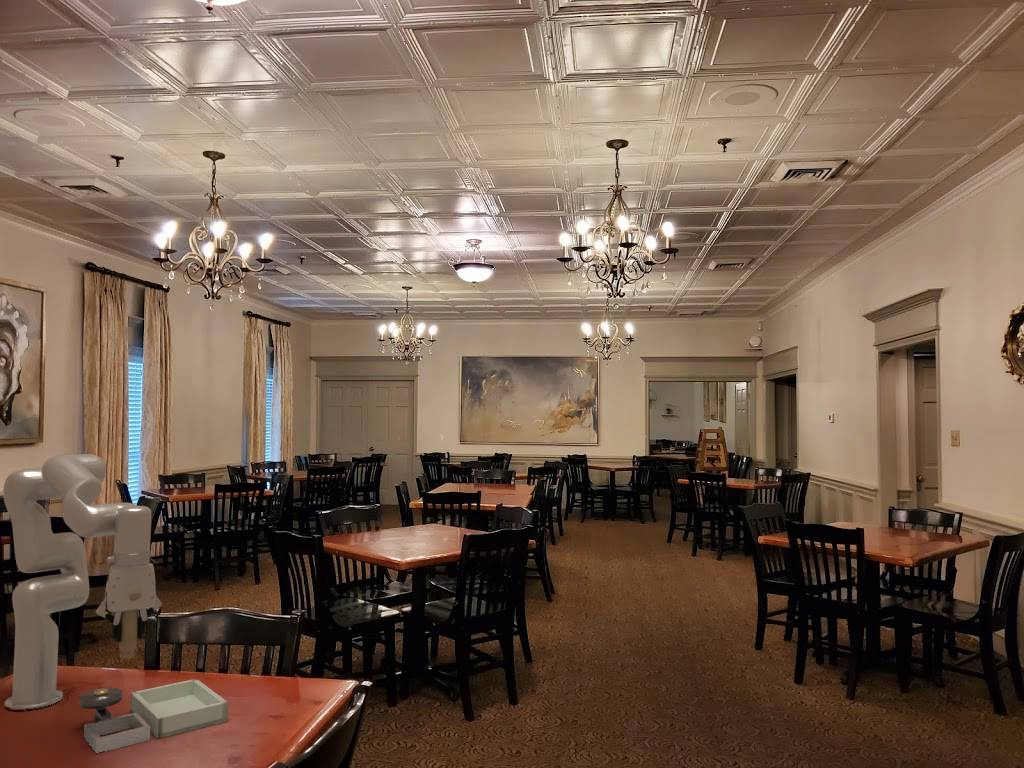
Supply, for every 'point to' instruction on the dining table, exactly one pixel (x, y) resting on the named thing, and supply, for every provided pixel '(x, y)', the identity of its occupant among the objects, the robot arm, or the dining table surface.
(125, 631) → the handle
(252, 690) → the dining table surface
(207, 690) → the tray
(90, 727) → the bracket
